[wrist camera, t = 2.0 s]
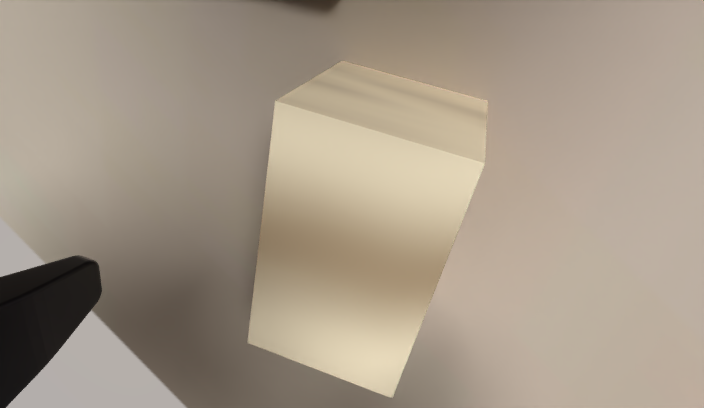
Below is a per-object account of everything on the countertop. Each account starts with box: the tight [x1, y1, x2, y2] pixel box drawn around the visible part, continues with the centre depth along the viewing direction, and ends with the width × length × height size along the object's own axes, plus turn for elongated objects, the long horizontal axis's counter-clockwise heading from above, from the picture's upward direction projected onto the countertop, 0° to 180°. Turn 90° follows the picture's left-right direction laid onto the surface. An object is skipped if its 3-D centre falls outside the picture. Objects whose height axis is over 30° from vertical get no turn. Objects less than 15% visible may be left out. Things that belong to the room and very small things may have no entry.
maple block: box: [247, 61, 488, 398], centre depth 13 cm, size 8×4×5 cm, turn 168°
